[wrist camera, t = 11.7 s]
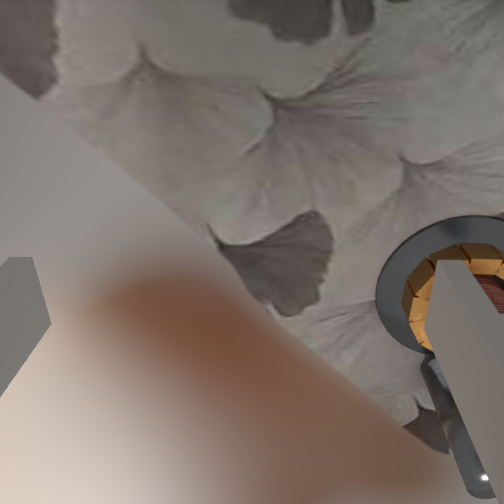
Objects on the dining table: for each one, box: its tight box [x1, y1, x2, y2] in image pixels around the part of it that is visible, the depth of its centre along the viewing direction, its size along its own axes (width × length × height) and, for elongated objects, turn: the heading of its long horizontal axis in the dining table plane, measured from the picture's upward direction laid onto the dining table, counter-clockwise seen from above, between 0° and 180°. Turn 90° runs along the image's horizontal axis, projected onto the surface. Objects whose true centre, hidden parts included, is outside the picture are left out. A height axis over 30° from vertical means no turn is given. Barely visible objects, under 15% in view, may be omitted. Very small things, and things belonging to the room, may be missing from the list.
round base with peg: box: [376, 216, 504, 499], centre depth 40 cm, size 20×16×14 cm
